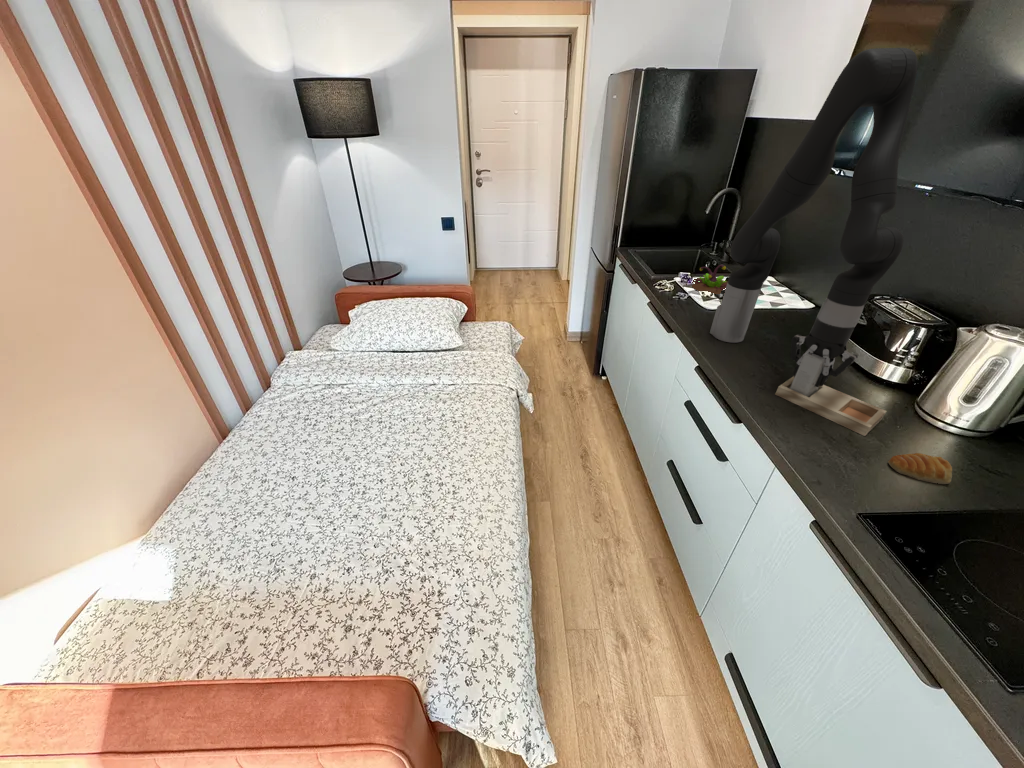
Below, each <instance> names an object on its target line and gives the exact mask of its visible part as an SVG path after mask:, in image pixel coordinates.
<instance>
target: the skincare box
mask: <svg viewBox="0 0 1024 768" xmlns="http://www.w3.org/2000/svg"><path fill="white" fill-rule="evenodd" d="M804 354H805V353H804ZM804 354H803V355H804ZM824 361H825V360H824V359H823V357H821V356H818V355H815V354H813V353H812V354H809V353H806V354H805V355H804V357H803V359H802V361H801V364H800V366H799V369H798V371H797V373H796V375H795V378H794V380H793V382H792V385H791V387H790V389H791V390H794V391H796V392H798V393H800V394H803V395H805V396H807V397H811V396H812V395H813V394H815V393H816V392H817V390H818V388H819V387H816V386H815V385H816V383H817V381H818V378H819V376H820V374H821V373H823V366H822V365H823V363H824Z"/></svg>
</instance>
